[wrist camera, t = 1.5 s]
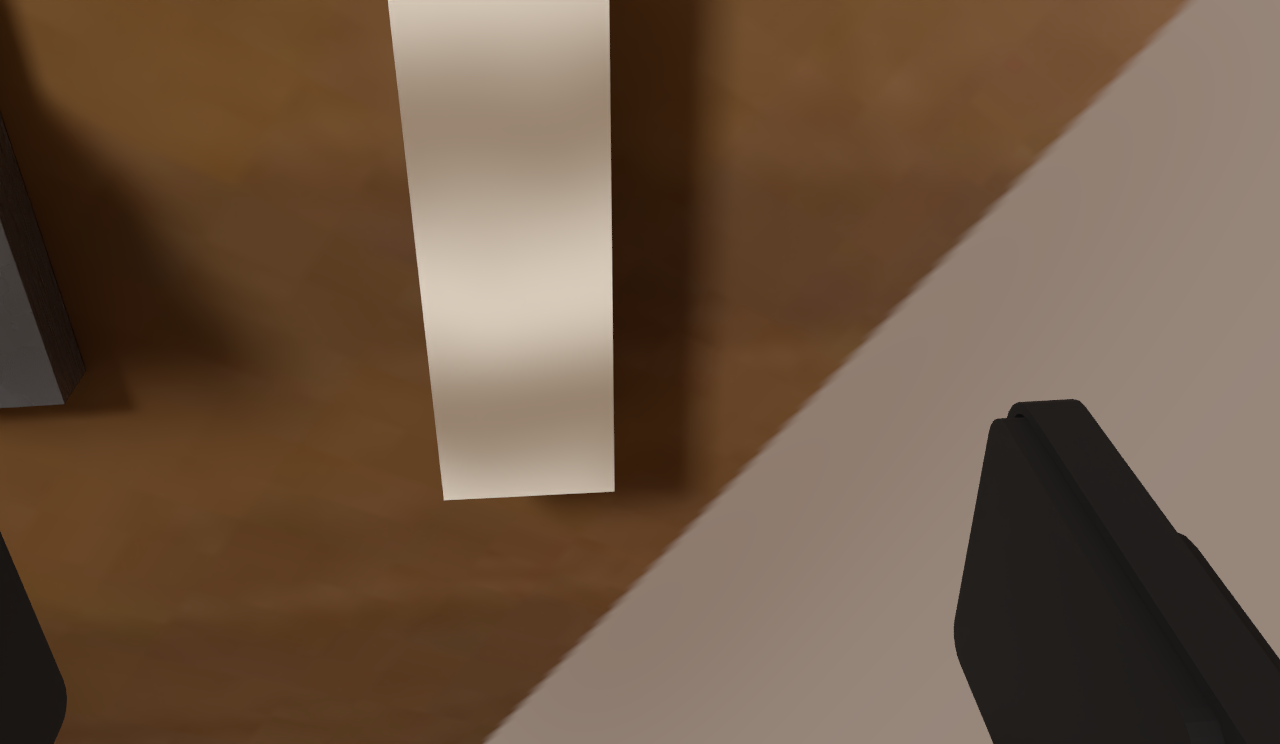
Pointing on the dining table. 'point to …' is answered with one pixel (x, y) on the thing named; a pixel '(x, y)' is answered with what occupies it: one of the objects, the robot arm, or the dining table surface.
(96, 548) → the dining table surface
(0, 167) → the fulcrum stand
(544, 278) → the ash bar
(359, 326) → the dining table surface
